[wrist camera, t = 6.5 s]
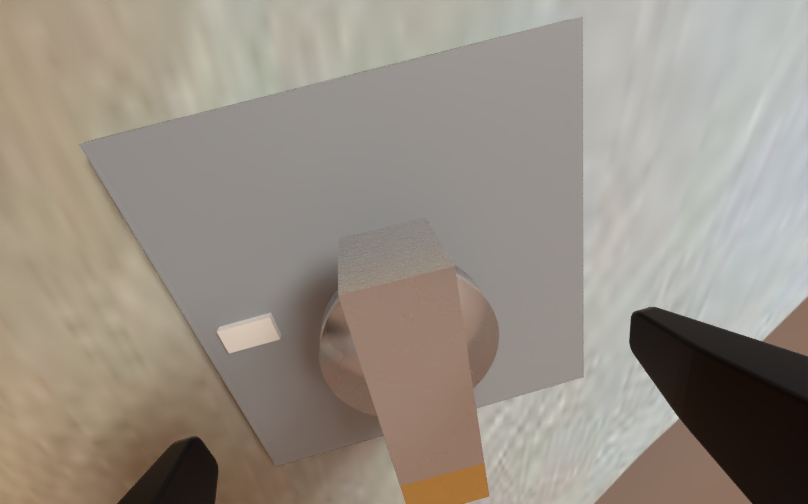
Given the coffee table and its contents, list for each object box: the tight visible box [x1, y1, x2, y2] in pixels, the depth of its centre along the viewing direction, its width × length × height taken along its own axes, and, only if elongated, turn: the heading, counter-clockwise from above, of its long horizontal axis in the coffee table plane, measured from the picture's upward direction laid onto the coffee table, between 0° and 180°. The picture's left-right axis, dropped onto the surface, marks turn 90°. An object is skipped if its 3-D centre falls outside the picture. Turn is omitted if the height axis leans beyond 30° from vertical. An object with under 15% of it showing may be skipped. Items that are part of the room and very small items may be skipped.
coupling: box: [319, 217, 499, 504], centre depth 14 cm, size 10×7×5 cm
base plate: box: [79, 17, 584, 467], centre depth 20 cm, size 20×20×1 cm
